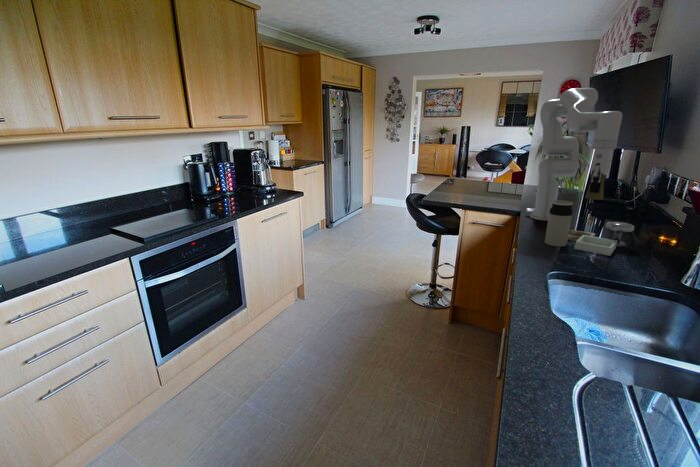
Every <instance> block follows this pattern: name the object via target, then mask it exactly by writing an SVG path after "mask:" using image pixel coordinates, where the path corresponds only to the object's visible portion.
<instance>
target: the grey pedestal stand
mask: <svg viewBox="0 0 700 467" xmlns="http://www.w3.org/2000/svg"><path fill="white" fill-rule="evenodd" d="M605 228H606V229H607V230H611V231H613V232H614V233H613V238H612V240H616V241H617V245H616V248H618V247H619V248H620V247H621V248H623V247H625V246H626V242H624V241H621V239H622V235H623V233H631V232H634V230H635V225H633V224H631V223H627V222H622V221H608V222H606V223H605Z"/></svg>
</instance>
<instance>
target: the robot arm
mask: <svg viewBox="0 0 700 467" xmlns="http://www.w3.org/2000/svg"><path fill="white" fill-rule="evenodd" d="M598 100H599V93H598V90H597V89H596V88H593V87H581V88H580V87H575V88H570V89H566V90H565V91H564V92H562V93H561V95H560V97H559V98H556V99H555V98H554V99H550V100H546V101H545V102H544V103H543V104H542V105H541V108H540V122H541V126H542V145H541V146H542V153H543V155H544V156H548V157H550V158H544V159H542V160H541V161H540V162H539V164H538V168H537V169H538V182H537V191H536V197H535V206H534V208H526V209H525V212H526V213H530V215H529V216H530V218H532V219H533V218H534V220H538V221H546V222H548V218H549V212H550V208H551V207H552V201H557V200H558V195H559V188H560V187H559V182H558V180H557V179H556V178H568V177H574V176H576V174H577V172H578V170H579V157H580V156H579V154H580V153H579V152H580V144H579V142H580V141H579V140H578V139H577V137H575V136H570V135H569V136H564V135H563V126H562V123H561V122H560V121H559V119H557V118H566V124H567V126H568V127H569V128H570V129H571V130H572V131H574V132H577V133H585V132H586V133H591V132H593V133H594V135H593V138H592V146H591V150H593V151H594V152H593V157H592V160H591V161H592V162H591V166H590V175H591V174H592V173H593V174H592V175H593V176H592V181H591V180H590V182H591V185H590V184H589V185H590V190H589V192H591V193H599V191H600V186H601V183H600V181H601V176H602V174H603V175H606V174H607V175H608V174H609V173H610V171H611V166H612V160H613V151H614V150H616V149H617V144H618V139H619V134H620V129H621V125H622V120H623V113H622V112H621V110H609V111H592V110H593V107H594V106H595V105H596V104H597V102H598ZM551 156H553V157H551ZM554 156H555V157H554ZM558 156H559V157H558ZM560 156H563V158H562V157H560ZM593 171H594V172H593ZM598 173H600V175H598ZM598 176H599V177H598Z"/></svg>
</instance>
